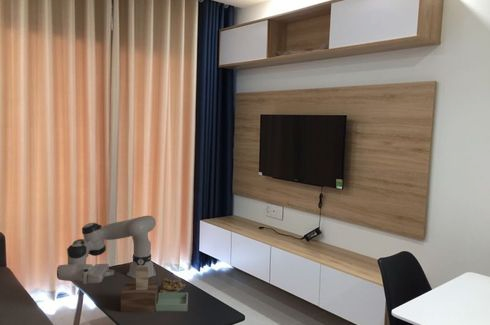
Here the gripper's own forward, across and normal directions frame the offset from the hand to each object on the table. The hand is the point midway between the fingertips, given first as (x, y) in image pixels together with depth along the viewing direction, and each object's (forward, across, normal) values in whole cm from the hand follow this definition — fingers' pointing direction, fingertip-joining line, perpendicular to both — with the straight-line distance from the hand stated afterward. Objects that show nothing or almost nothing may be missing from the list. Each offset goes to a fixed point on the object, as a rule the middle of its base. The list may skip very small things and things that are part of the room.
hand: (113, 272), depth 230 cm
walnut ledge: (+14, 0, -19) cm, 24 cm away
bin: (+32, 0, -19) cm, 37 cm away
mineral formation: (+31, -18, -19) cm, 41 cm away
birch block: (+15, 0, -9) cm, 18 cm away
